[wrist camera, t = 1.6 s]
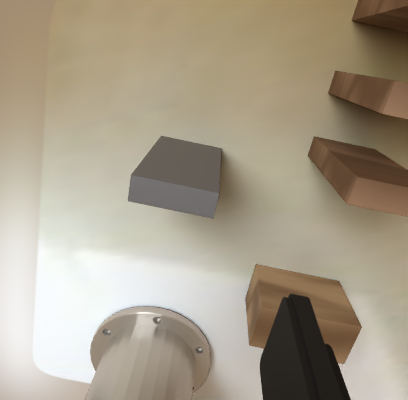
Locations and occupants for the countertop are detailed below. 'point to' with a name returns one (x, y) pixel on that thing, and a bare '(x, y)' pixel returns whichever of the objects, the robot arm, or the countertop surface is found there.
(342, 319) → the end block
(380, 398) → the countertop surface
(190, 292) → the countertop surface
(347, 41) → the countertop surface
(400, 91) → the domino
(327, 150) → the domino
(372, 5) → the domino
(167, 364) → the robot arm
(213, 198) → the domino
